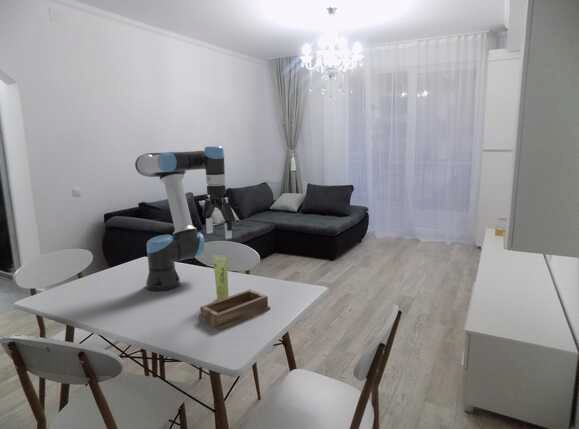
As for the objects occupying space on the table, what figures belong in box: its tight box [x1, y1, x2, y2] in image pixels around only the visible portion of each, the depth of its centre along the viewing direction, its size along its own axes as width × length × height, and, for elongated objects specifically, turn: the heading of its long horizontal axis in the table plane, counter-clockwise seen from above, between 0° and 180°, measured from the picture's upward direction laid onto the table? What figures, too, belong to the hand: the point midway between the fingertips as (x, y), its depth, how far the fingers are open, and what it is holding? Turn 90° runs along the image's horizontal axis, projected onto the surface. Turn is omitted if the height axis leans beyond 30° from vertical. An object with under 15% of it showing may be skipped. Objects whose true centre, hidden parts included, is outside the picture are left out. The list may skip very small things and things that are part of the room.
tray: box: [198, 289, 271, 331], centre depth 153 cm, size 14×24×5 cm, turn 134°
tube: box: [212, 254, 230, 301], centre depth 166 cm, size 6×5×20 cm
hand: (219, 235), depth 163 cm, fingers open, 13 cm apart
